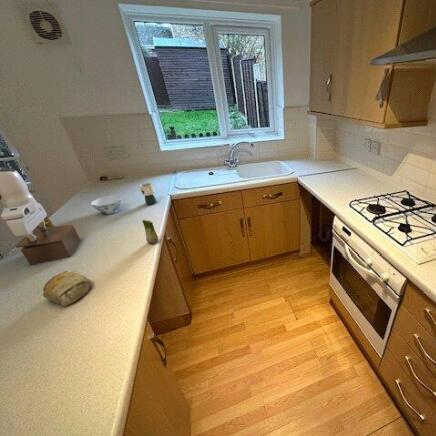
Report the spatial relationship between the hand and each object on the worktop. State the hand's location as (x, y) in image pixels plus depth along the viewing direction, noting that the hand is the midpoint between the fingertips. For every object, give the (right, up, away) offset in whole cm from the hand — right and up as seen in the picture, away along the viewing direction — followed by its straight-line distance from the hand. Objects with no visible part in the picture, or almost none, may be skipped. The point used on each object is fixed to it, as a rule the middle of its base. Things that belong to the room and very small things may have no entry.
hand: (39, 235), depth 105 cm
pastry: (+31, -20, -18) cm, 41 cm away
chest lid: (+2, -1, +1) cm, 3 cm away
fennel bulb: (+44, -4, +11) cm, 45 cm away
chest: (+3, -8, +5) cm, 10 cm away
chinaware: (0, +11, +42) cm, 44 cm away
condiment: (-11, -2, +17) cm, 20 cm away
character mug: (+18, +17, +53) cm, 59 cm away
